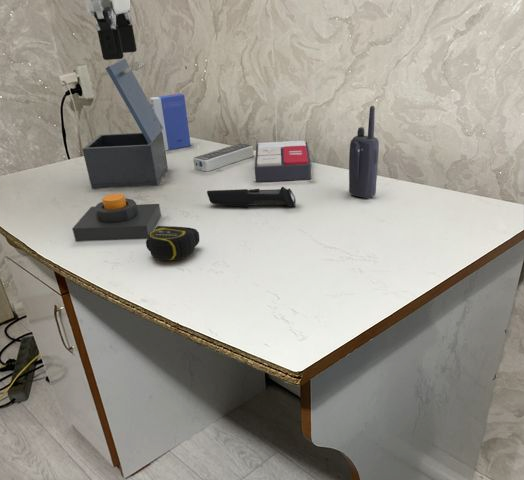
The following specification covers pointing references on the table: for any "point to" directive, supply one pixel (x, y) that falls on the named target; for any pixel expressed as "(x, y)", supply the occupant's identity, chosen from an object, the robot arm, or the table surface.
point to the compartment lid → (135, 97)
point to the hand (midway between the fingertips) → (121, 55)
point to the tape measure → (172, 242)
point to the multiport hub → (223, 157)
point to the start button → (114, 201)
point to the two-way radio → (364, 161)
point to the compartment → (125, 160)
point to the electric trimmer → (252, 197)
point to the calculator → (282, 161)
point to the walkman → (172, 120)
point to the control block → (117, 222)
